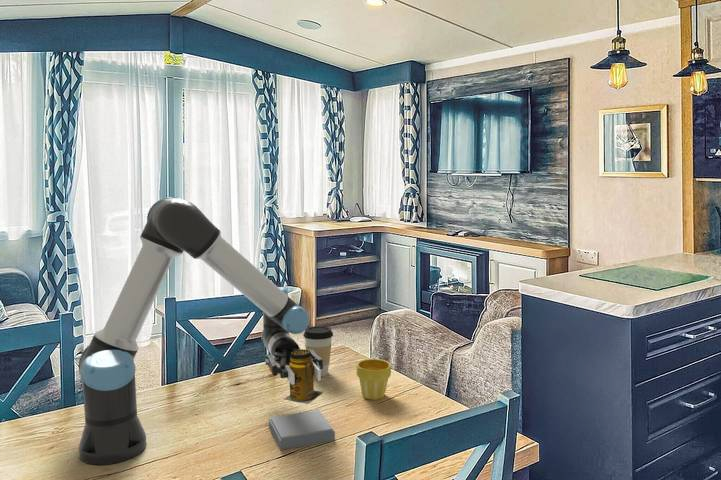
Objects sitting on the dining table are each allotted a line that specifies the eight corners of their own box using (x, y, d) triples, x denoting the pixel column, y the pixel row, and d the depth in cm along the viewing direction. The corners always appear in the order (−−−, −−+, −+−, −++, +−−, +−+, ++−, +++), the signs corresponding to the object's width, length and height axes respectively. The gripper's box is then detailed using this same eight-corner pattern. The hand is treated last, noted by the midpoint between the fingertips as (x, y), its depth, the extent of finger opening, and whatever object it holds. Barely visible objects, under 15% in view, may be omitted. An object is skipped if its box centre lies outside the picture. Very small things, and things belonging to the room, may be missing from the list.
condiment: (283, 399, 148) (281, 354, 146) (301, 388, 155) (300, 344, 153) (307, 405, 144) (306, 358, 143) (324, 392, 152) (324, 348, 150)
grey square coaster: (280, 450, 142) (280, 438, 142) (269, 427, 154) (268, 416, 154) (334, 440, 147) (334, 429, 147) (319, 419, 159) (319, 408, 159)
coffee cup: (335, 368, 199) (335, 325, 197) (331, 379, 189) (330, 334, 187) (306, 367, 200) (306, 325, 198) (301, 378, 190) (300, 333, 188)
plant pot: (397, 393, 177) (397, 362, 176) (379, 405, 168) (379, 372, 167) (368, 386, 183) (368, 356, 181) (349, 397, 174) (349, 365, 173)
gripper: (316, 357, 169) (342, 386, 148) (251, 366, 162) (268, 397, 141) (316, 332, 168) (342, 357, 147) (250, 340, 161) (267, 367, 140)
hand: (306, 377), depth 144 cm, fingers closed on condiment, 6 cm apart
